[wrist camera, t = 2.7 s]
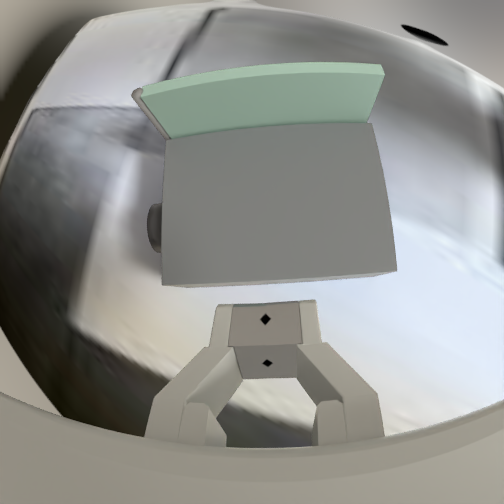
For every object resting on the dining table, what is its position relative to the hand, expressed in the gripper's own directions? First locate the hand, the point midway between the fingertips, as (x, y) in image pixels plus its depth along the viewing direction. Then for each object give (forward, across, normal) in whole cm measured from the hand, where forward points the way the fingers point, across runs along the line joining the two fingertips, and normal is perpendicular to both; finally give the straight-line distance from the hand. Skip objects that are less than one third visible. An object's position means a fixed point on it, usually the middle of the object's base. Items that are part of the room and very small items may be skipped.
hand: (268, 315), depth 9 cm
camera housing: (+22, 0, +9) cm, 23 cm away
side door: (+28, 0, +3) cm, 28 cm away
